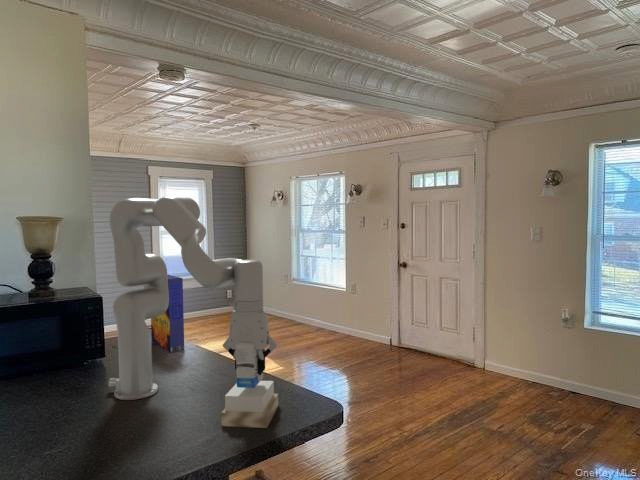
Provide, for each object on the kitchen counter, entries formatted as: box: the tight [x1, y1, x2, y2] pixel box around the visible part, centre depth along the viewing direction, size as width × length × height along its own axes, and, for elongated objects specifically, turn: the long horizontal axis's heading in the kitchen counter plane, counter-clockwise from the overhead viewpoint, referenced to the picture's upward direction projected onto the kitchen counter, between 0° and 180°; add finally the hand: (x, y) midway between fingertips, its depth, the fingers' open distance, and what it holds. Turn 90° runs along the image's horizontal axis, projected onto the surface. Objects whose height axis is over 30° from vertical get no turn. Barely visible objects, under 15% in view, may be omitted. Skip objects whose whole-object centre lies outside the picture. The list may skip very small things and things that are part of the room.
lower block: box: [220, 393, 279, 429], centre depth 125 cm, size 12×14×4 cm
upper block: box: [224, 380, 275, 413], centre depth 125 cm, size 10×12×4 cm
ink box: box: [235, 342, 264, 388], centre depth 124 cm, size 9×5×12 cm, turn 168°
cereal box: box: [150, 274, 185, 354], centre depth 194 cm, size 22×6×30 cm, turn 39°
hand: (250, 372), depth 124 cm, fingers closed on ink box, 5 cm apart
